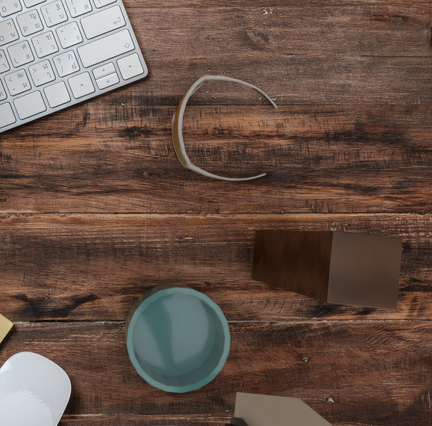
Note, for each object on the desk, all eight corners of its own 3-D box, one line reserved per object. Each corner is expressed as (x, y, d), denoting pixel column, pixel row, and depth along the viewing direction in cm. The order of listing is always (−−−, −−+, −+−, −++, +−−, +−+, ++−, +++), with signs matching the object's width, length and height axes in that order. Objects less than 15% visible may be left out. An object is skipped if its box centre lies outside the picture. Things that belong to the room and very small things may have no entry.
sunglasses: (176, 73, 69) (187, 62, 64) (271, 96, 71) (290, 88, 66) (159, 170, 68) (169, 166, 63) (255, 190, 71) (273, 188, 66)
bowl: (215, 384, 68) (225, 397, 63) (119, 375, 67) (121, 387, 62) (224, 288, 68) (235, 293, 63) (129, 278, 68) (132, 282, 63)
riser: (299, 284, 68) (397, 310, 47) (251, 279, 68) (326, 302, 46) (303, 235, 69) (403, 238, 47) (256, 230, 68) (333, 230, 47)
